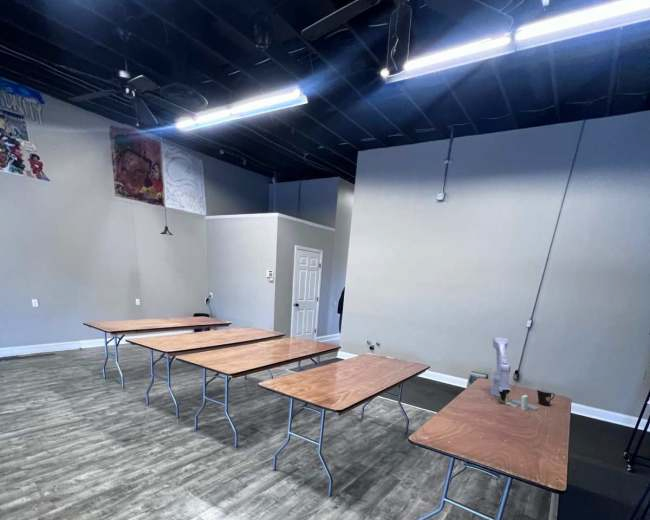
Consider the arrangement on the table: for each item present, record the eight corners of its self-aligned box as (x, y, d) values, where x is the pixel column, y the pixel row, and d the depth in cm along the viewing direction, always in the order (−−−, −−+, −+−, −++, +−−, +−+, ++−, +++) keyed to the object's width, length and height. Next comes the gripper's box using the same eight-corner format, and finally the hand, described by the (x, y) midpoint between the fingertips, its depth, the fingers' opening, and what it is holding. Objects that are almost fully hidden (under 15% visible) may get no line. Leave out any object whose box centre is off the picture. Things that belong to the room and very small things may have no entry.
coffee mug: (538, 405, 215) (538, 391, 215) (535, 401, 223) (535, 387, 223) (558, 408, 210) (558, 394, 211) (554, 404, 218) (554, 390, 219)
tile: (520, 409, 204) (521, 396, 204) (524, 407, 208) (524, 394, 209) (524, 411, 202) (524, 397, 203) (528, 409, 206) (528, 395, 207)
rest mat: (510, 402, 217) (510, 401, 217) (514, 400, 222) (514, 399, 222) (535, 410, 205) (535, 409, 205) (539, 407, 210) (539, 407, 210)
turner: (499, 402, 215) (499, 392, 215) (502, 400, 219) (502, 391, 219) (514, 407, 207) (514, 397, 208) (517, 405, 211) (518, 395, 211)
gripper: (506, 384, 209) (506, 403, 208) (514, 381, 218) (513, 400, 217) (495, 381, 214) (495, 400, 213) (503, 378, 223) (503, 396, 222)
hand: (503, 400), depth 215 cm, fingers closed on turner, 2 cm apart
